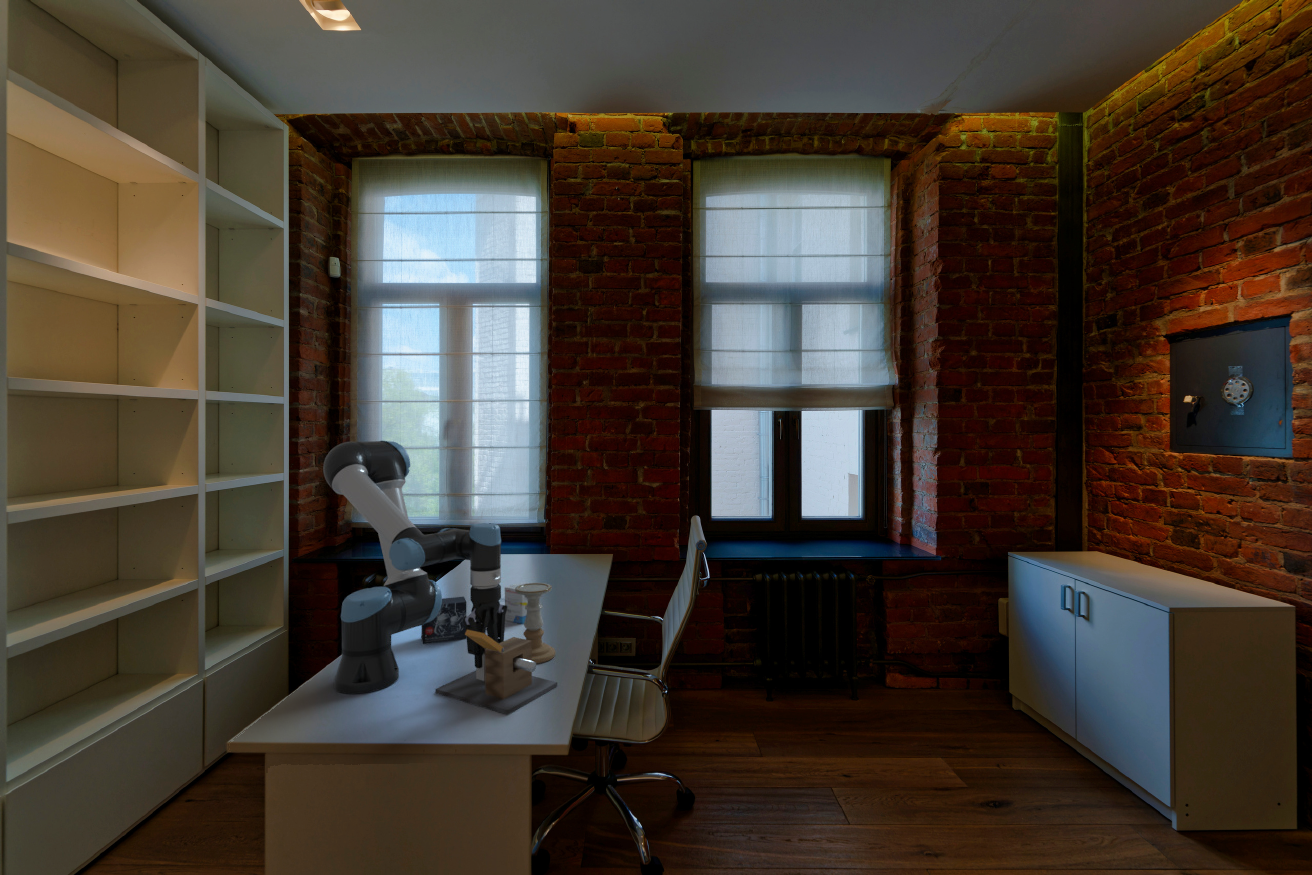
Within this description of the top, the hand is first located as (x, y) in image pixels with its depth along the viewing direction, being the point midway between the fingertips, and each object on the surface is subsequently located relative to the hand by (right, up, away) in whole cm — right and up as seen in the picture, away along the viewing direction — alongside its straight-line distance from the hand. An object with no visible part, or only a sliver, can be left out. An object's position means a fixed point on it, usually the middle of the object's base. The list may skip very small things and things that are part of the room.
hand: (486, 676), depth 156 cm
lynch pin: (+6, +2, -3) cm, 7 cm away
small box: (-23, -2, +36) cm, 43 cm away
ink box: (-3, -2, +56) cm, 56 cm away
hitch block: (+3, -3, -2) cm, 4 cm away
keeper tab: (+3, +12, -11) cm, 17 cm away
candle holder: (+8, -2, +21) cm, 22 cm away
